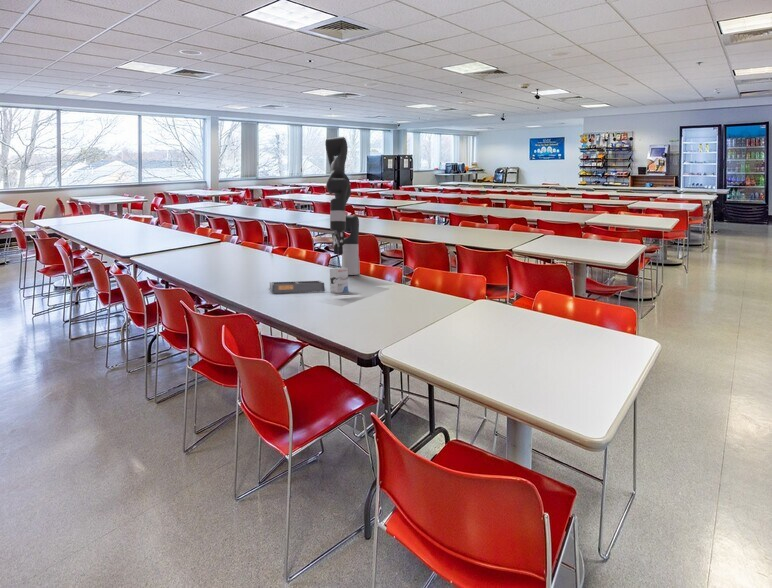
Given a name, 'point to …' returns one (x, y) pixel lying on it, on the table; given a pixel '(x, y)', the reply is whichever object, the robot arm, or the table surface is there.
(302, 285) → the tray
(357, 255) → the robot arm
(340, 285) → the ink box
